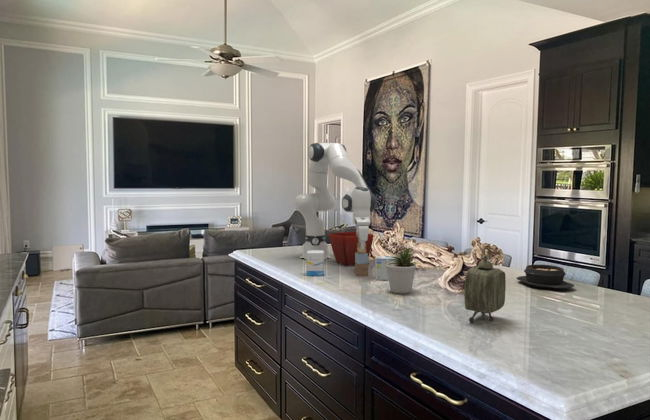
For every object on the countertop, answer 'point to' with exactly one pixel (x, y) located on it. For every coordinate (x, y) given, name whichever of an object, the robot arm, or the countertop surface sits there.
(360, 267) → the tower base
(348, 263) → the plant pot
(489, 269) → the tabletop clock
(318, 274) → the ink box
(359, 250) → the brown cylinder
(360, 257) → the tower top
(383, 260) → the light bulb box
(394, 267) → the potted plant
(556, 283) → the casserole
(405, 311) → the countertop surface
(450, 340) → the countertop surface
